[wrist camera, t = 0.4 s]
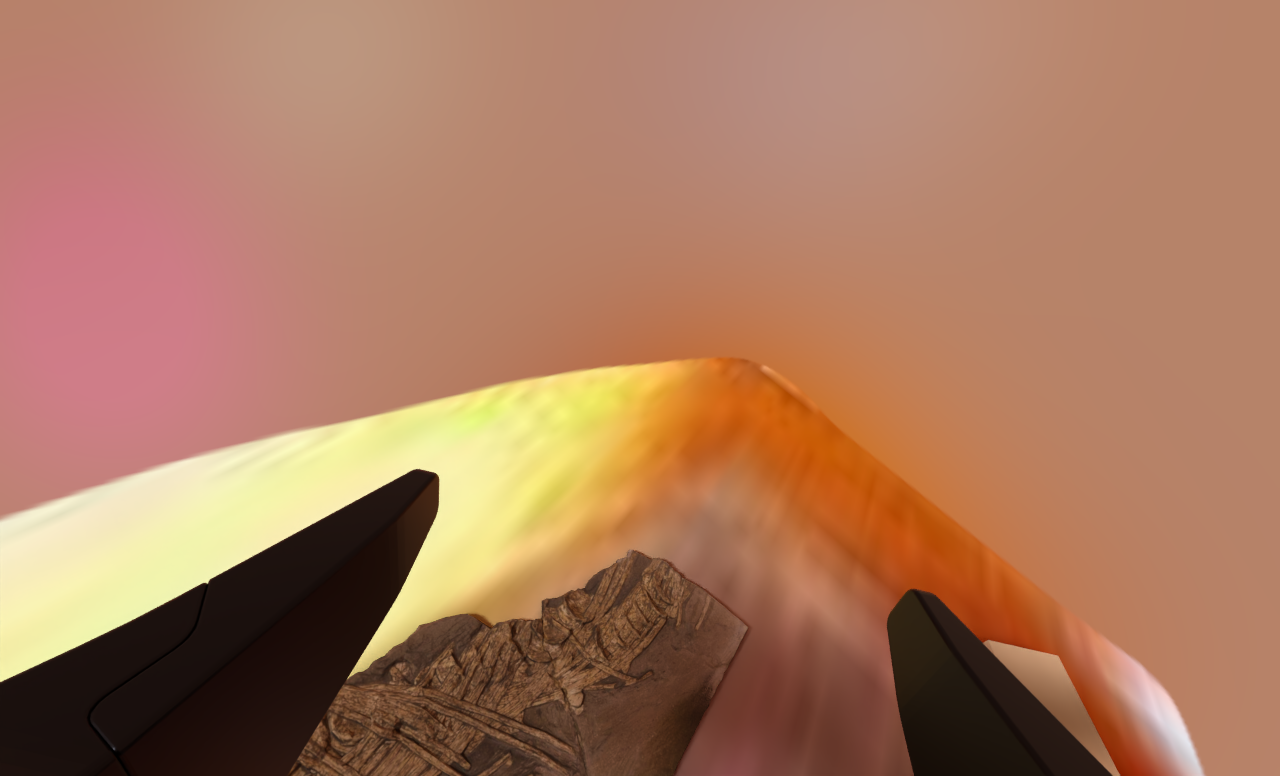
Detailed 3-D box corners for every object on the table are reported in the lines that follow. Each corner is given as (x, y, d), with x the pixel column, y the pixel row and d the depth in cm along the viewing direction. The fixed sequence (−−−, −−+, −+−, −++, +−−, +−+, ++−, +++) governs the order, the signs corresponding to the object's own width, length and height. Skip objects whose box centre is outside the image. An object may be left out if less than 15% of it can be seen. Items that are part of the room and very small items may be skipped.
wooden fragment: (686, 533, 30) (692, 523, 29) (805, 734, 24) (817, 728, 23) (55, 766, 16) (38, 759, 16) (-47, 1368, 10) (-81, 1401, 10)
